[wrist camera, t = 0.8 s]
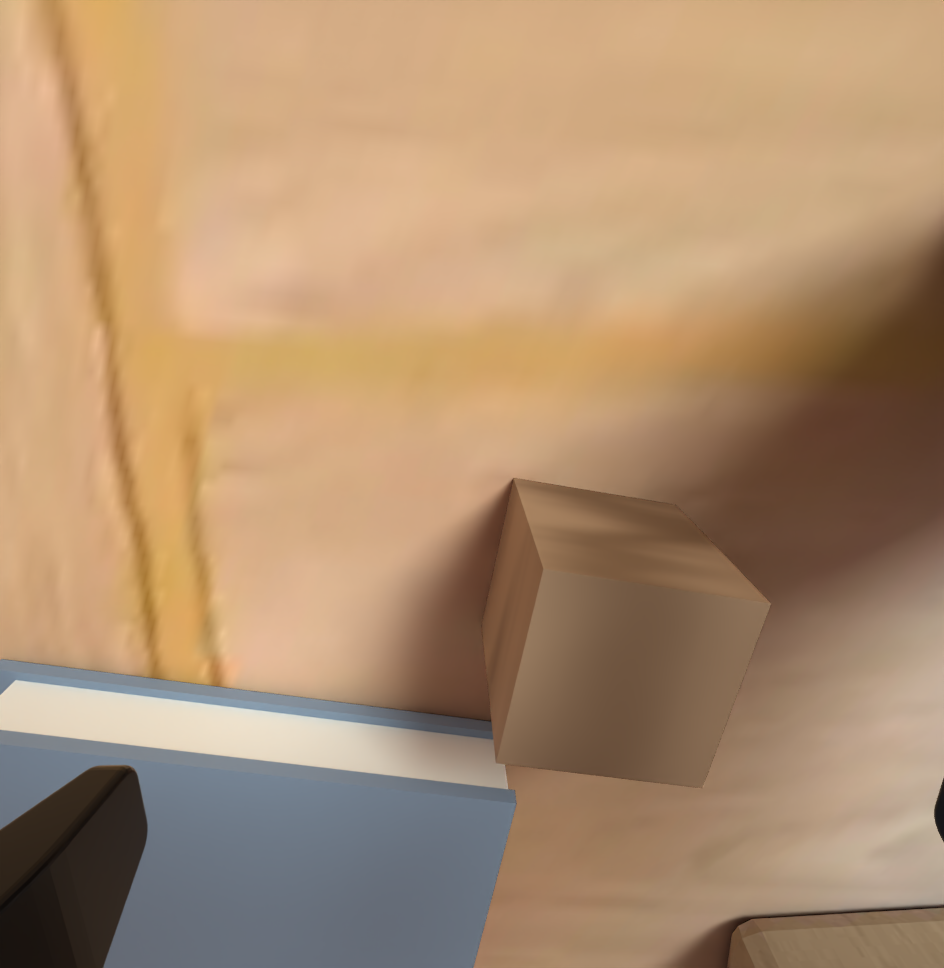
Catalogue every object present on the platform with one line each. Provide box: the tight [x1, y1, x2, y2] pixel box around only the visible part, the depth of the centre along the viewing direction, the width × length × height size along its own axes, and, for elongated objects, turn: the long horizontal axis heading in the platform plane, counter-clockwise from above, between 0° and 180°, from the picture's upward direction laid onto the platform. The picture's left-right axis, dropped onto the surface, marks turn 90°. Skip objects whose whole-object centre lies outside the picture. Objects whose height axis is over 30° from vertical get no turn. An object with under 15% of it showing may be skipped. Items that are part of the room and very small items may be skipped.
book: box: [0, 659, 517, 968], centre depth 21 cm, size 16×12×3 cm
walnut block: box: [481, 478, 771, 788], centre depth 17 cm, size 5×5×6 cm
